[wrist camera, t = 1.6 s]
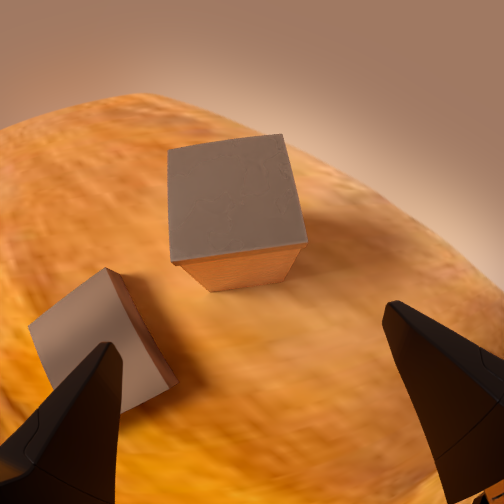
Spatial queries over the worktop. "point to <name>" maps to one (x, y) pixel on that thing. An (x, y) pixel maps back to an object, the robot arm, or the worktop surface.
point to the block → (102, 337)
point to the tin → (234, 212)
